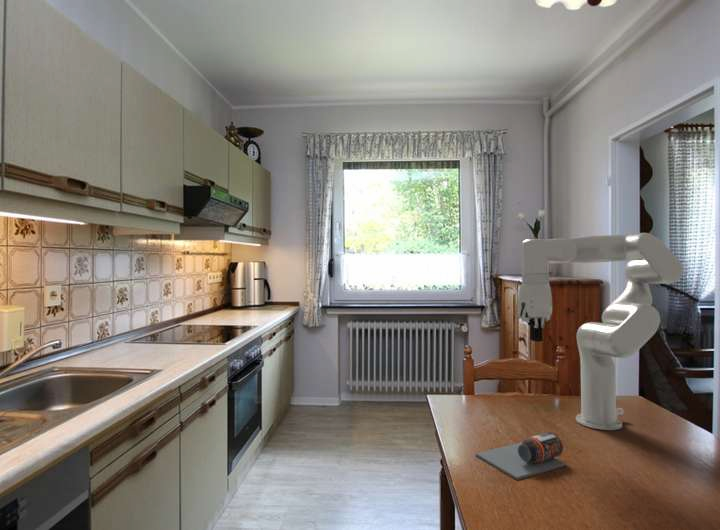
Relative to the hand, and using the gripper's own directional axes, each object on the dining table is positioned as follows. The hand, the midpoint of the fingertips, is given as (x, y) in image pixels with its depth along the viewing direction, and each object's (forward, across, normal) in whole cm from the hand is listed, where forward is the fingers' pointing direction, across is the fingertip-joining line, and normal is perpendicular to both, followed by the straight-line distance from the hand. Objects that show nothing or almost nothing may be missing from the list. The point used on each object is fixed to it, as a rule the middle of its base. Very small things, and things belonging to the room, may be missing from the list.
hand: (536, 340), depth 125 cm
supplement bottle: (+24, +10, +15) cm, 30 cm away
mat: (+27, +20, +12) cm, 36 cm away
